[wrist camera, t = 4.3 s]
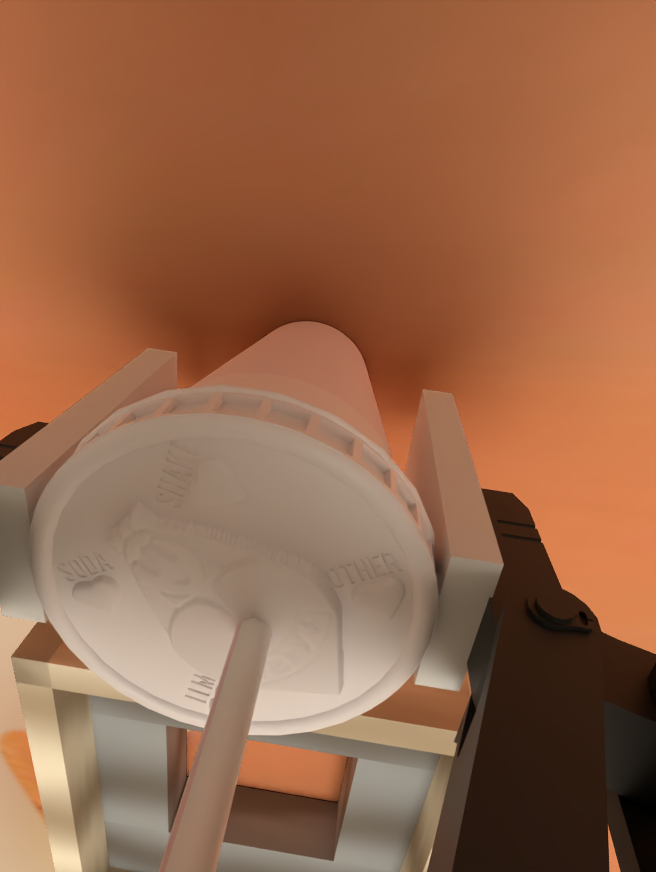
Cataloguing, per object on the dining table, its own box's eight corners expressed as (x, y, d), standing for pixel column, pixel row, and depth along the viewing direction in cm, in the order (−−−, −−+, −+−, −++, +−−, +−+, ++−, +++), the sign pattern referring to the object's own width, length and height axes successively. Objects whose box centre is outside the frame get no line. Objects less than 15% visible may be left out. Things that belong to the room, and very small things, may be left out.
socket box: (82, 563, 21) (11, 656, 17) (489, 629, 21) (515, 741, 17) (110, 821, 29) (66, 925, 25) (402, 872, 29) (405, 986, 25)
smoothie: (311, 502, 19) (170, 1166, 6) (166, 377, 17) (-411, 936, 5) (456, 382, 16) (689, 1076, 4) (302, 223, 15) (-142, 533, 2)
